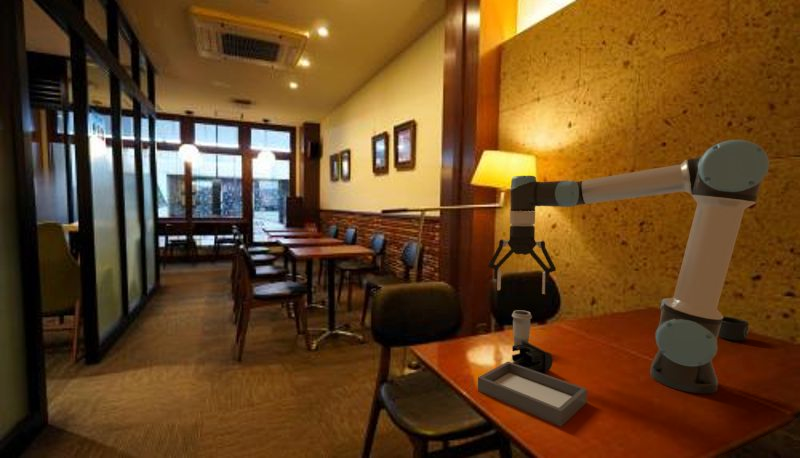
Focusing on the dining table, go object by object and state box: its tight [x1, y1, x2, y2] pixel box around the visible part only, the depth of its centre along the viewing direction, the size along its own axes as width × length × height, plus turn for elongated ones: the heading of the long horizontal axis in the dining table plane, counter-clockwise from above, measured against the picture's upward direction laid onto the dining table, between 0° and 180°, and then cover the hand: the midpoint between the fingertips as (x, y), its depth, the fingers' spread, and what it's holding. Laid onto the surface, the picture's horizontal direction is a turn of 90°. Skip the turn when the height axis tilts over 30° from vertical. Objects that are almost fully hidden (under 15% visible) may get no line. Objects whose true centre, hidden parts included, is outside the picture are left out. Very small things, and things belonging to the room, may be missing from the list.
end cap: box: [511, 341, 554, 374], centre depth 112 cm, size 10×7×7 cm
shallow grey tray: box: [477, 361, 588, 428], centre depth 95 cm, size 22×15×4 cm
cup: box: [511, 309, 533, 346], centre depth 130 cm, size 7×7×12 cm
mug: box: [718, 316, 750, 342], centre depth 140 cm, size 12×9×7 cm
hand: (520, 291), depth 119 cm, fingers open, 13 cm apart
